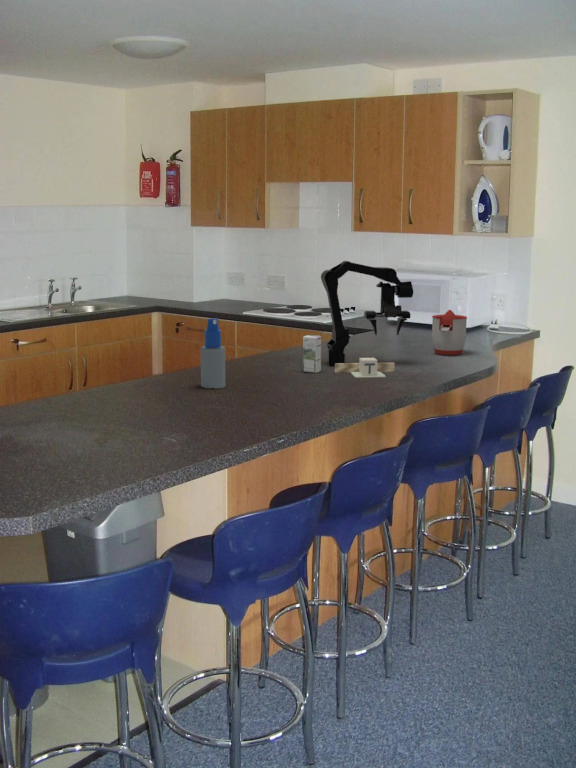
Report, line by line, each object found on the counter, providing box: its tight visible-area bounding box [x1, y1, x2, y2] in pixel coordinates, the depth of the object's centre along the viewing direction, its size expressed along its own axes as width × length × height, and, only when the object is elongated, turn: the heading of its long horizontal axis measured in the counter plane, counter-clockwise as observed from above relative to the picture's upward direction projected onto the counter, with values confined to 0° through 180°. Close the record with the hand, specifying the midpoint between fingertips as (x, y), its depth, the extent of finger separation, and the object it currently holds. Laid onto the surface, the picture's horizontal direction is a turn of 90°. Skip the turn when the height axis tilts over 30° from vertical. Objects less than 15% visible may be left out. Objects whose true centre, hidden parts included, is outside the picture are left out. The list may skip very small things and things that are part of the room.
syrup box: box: [302, 334, 322, 374], centre depth 350 cm, size 6×6×14 cm
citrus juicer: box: [431, 309, 468, 357], centre depth 393 cm, size 16×17×20 cm
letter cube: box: [358, 357, 378, 376], centre depth 343 cm, size 6×6×6 cm
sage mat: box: [350, 372, 387, 379], centre depth 344 cm, size 12×10×1 cm
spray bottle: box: [200, 317, 226, 389], centre depth 319 cm, size 9×9×25 cm
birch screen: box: [334, 362, 396, 374], centre depth 351 cm, size 24×2×4 cm, turn 96°
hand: (386, 335), depth 369 cm, fingers open, 9 cm apart
